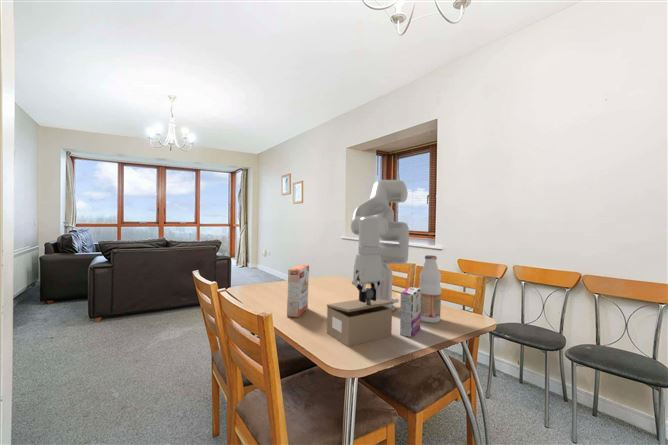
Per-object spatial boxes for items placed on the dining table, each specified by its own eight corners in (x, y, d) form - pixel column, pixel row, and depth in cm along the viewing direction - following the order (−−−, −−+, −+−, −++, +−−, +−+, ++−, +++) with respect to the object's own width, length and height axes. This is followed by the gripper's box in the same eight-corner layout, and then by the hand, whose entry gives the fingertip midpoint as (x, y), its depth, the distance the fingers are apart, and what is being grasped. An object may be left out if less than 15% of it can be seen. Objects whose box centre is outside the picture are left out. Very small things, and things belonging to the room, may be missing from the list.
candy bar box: (408, 326, 124) (409, 286, 124) (420, 328, 122) (421, 288, 121) (399, 335, 115) (400, 292, 114) (412, 338, 112) (413, 294, 112)
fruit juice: (417, 321, 130) (419, 256, 129) (417, 314, 139) (419, 254, 138) (441, 324, 127) (443, 258, 127) (439, 317, 136) (441, 255, 136)
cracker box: (299, 318, 131) (300, 270, 131) (286, 316, 132) (287, 269, 132) (308, 308, 145) (309, 264, 144) (296, 307, 146) (297, 264, 145)
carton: (367, 323, 126) (368, 299, 126) (391, 335, 114) (392, 309, 114) (326, 333, 115) (326, 306, 115) (347, 347, 103) (348, 317, 103)
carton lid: (368, 299, 126) (367, 283, 127) (393, 303, 114) (392, 285, 114) (326, 306, 115) (326, 288, 116) (349, 312, 103) (347, 291, 103)
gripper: (379, 248, 118) (378, 295, 118) (344, 250, 109) (342, 301, 109) (392, 251, 112) (391, 300, 112) (356, 253, 102) (355, 307, 103)
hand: (367, 300), depth 111 cm, fingers closed on carton lid, 4 cm apart
